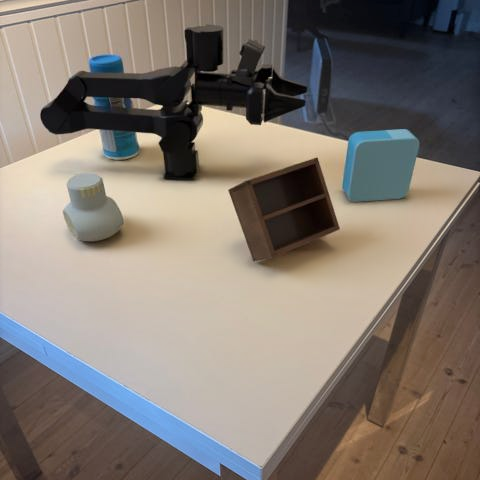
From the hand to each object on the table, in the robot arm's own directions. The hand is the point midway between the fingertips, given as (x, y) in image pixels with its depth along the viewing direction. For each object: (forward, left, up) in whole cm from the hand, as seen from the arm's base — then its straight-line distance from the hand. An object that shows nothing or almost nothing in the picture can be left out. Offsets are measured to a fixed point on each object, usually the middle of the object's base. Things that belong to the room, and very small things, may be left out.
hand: (306, 96), depth 90 cm
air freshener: (-35, -24, -17) cm, 46 cm away
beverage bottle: (-41, +9, -17) cm, 46 cm away
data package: (+15, -5, -17) cm, 23 cm away
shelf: (0, -28, -15) cm, 32 cm away
